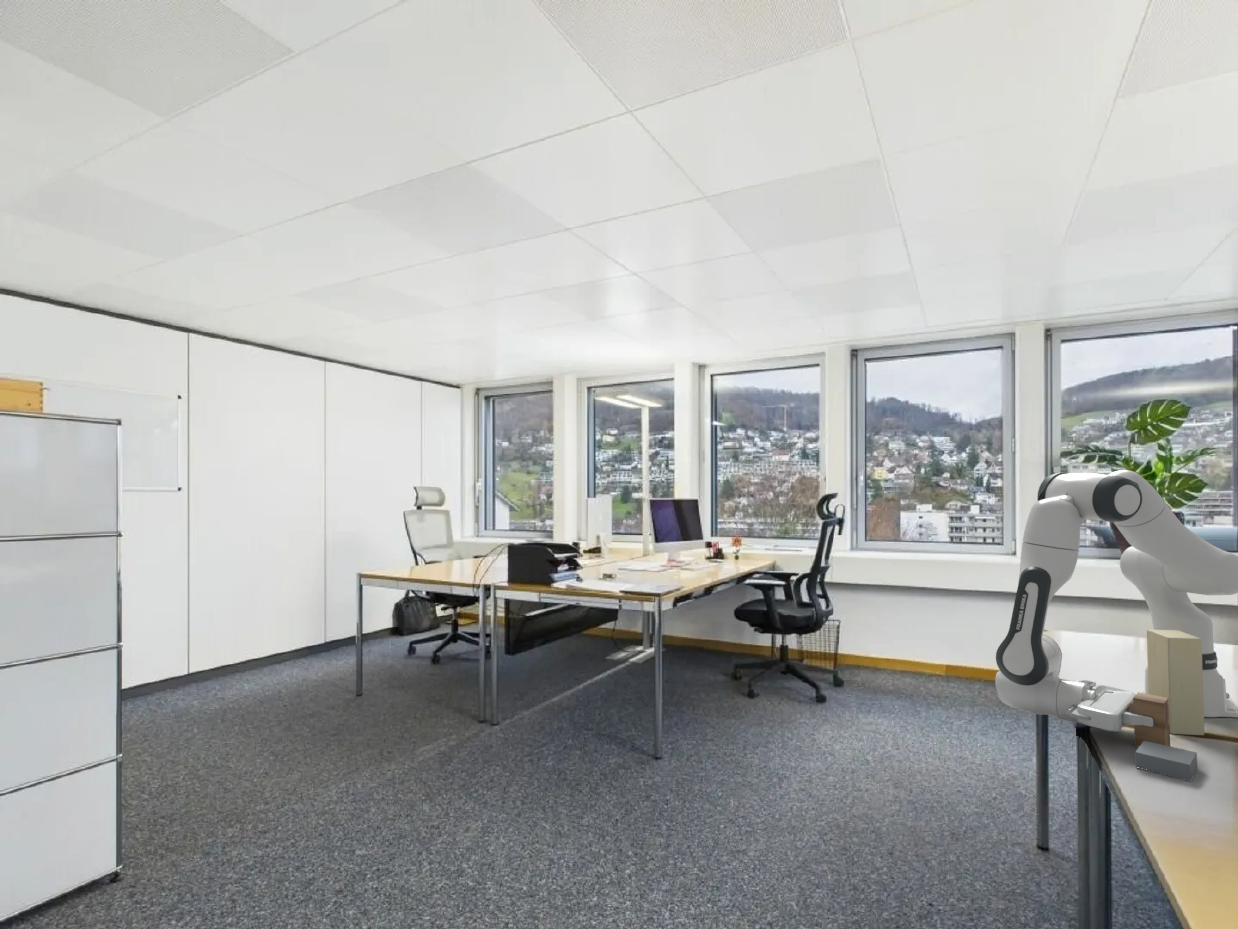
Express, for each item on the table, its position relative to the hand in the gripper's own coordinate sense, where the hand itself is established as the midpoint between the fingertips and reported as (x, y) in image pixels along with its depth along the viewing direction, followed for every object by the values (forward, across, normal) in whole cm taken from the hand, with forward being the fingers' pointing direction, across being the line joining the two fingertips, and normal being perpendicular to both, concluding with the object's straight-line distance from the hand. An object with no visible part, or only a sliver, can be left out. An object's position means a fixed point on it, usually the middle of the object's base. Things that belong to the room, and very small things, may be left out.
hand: (1156, 718), depth 135 cm
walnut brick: (-1, 0, +6) cm, 6 cm away
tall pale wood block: (+1, +16, +6) cm, 17 cm away
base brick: (+3, -11, +6) cm, 13 cm away
